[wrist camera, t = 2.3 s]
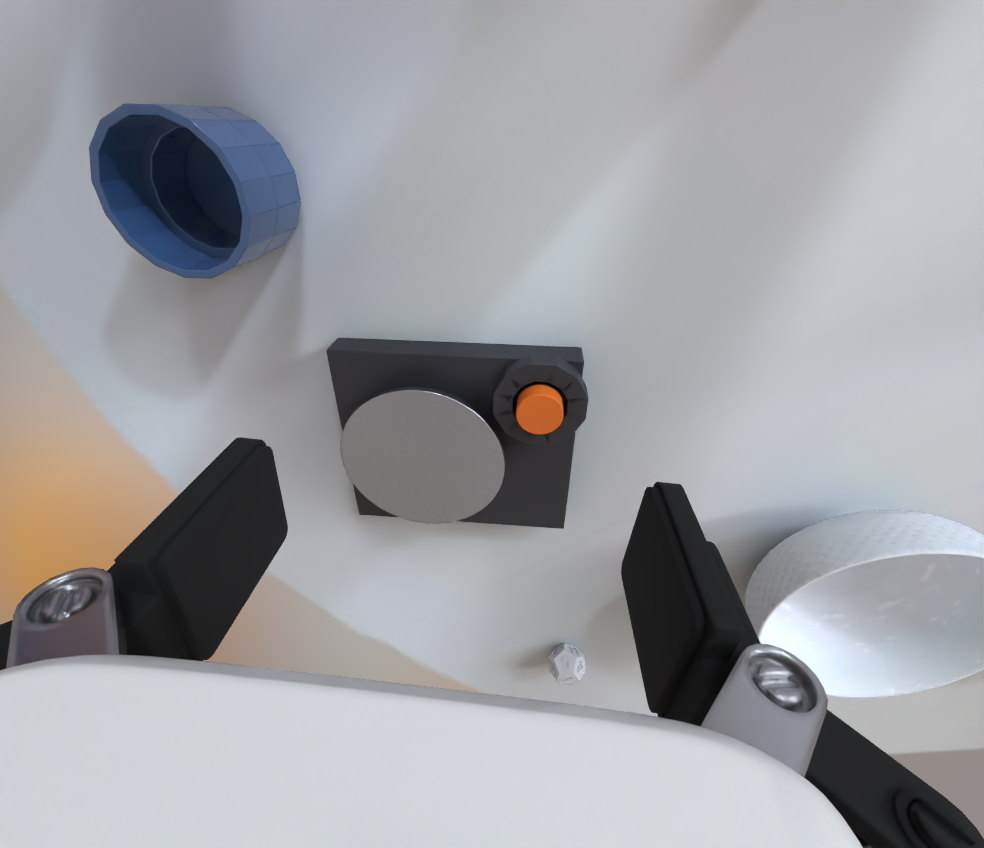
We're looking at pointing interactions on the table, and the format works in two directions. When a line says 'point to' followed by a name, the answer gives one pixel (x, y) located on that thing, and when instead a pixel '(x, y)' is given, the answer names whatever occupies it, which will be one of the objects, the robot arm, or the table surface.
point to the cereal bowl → (875, 602)
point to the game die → (567, 664)
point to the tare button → (539, 409)
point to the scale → (494, 393)
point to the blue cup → (193, 186)
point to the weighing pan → (423, 455)
